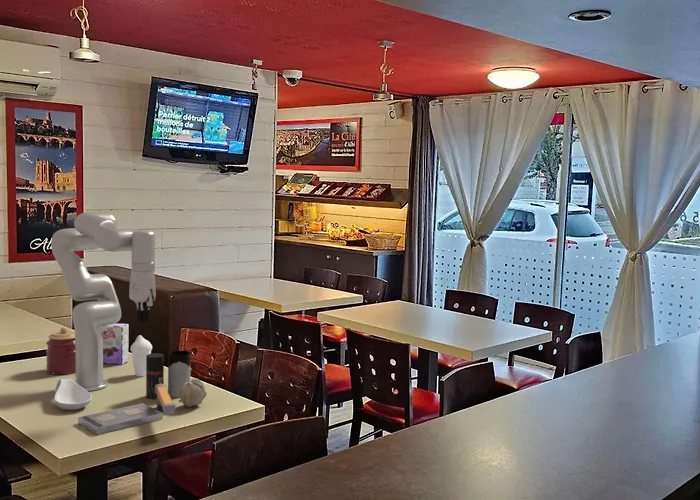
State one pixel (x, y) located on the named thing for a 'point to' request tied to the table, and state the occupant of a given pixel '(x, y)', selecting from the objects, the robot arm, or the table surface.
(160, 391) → the orange and grey bar
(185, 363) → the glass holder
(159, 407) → the post
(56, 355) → the canister
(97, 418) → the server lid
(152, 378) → the deodorant
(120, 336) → the candy box
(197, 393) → the garlic bulb
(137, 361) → the soft serve ice cream cone
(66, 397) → the spoon rest
